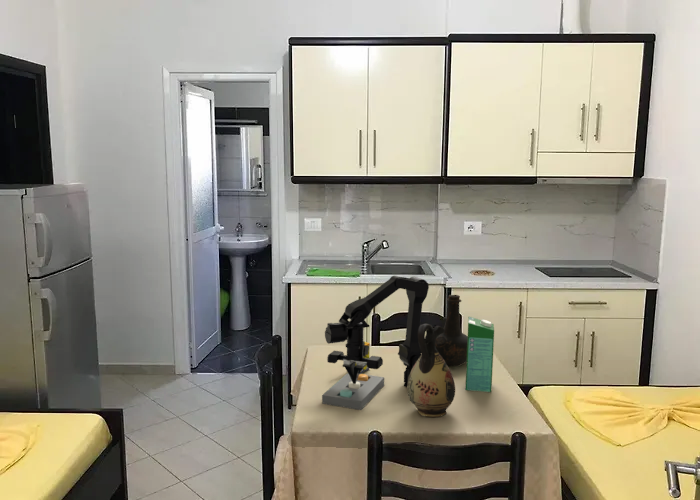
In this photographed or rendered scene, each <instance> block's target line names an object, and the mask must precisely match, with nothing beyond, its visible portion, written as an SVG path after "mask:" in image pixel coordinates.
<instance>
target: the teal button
mask: <svg viewBox="0 0 700 500" xmlns="http://www.w3.org/2000/svg"><path fill="white" fill-rule="evenodd" d="M340 396H343V397H349V398H350V397H351V396H352V391H351V390H347V389H344V390H341V391H340Z"/></svg>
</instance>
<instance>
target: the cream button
mask: <svg viewBox="0 0 700 500" xmlns="http://www.w3.org/2000/svg"><path fill="white" fill-rule="evenodd" d="M349 388H354V389H360V382H356V384H353V382H349Z"/></svg>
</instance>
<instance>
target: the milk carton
mask: <svg viewBox="0 0 700 500" xmlns="http://www.w3.org/2000/svg"><path fill="white" fill-rule="evenodd" d="M467 336H468V340H467V362H466V366H465V369H466V370H465V391H474V392H485V393H492V385H493V383H492V382H493V366H494V365H493V363H494V346H495V345H494V343H495V341H494V340H495V327H494V323H493V322H492V321H490V320H487V319H484V318H483V319H478V318H475V317H472V316H468V319H467Z"/></svg>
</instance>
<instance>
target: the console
mask: <svg viewBox="0 0 700 500" xmlns="http://www.w3.org/2000/svg"><path fill="white" fill-rule="evenodd" d="M364 374H365V373H364ZM365 375H368V381H360V380H357V382H360V389H354V388H349V382H352V380H351V378H350V375H349V373H348V372H347V373H346V374H345V375H344V376H342V377H341V378H340V379H339V380H338V381H337V382H335V383H334V384H333V385H332V386H331V387H329V389H328V390H326V391H325V392H324V393H322V395H321V403H322V404H323V405H329V406H334V407H341V408H346V409H351V410H357V411H362V410H363V409H364V408H365V406H367V405H368V404H369V402H370V401H371V400H372V399H373V398H374V397H375V396H376V395H377V394H378V393H379V391H380V390H381V389H382V388H384V386H385V376H378V375H371V374H365ZM344 389H347V390H351V391H352V396H351V397H350V398H349V397H343V396H340V391H341V390H344Z"/></svg>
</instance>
